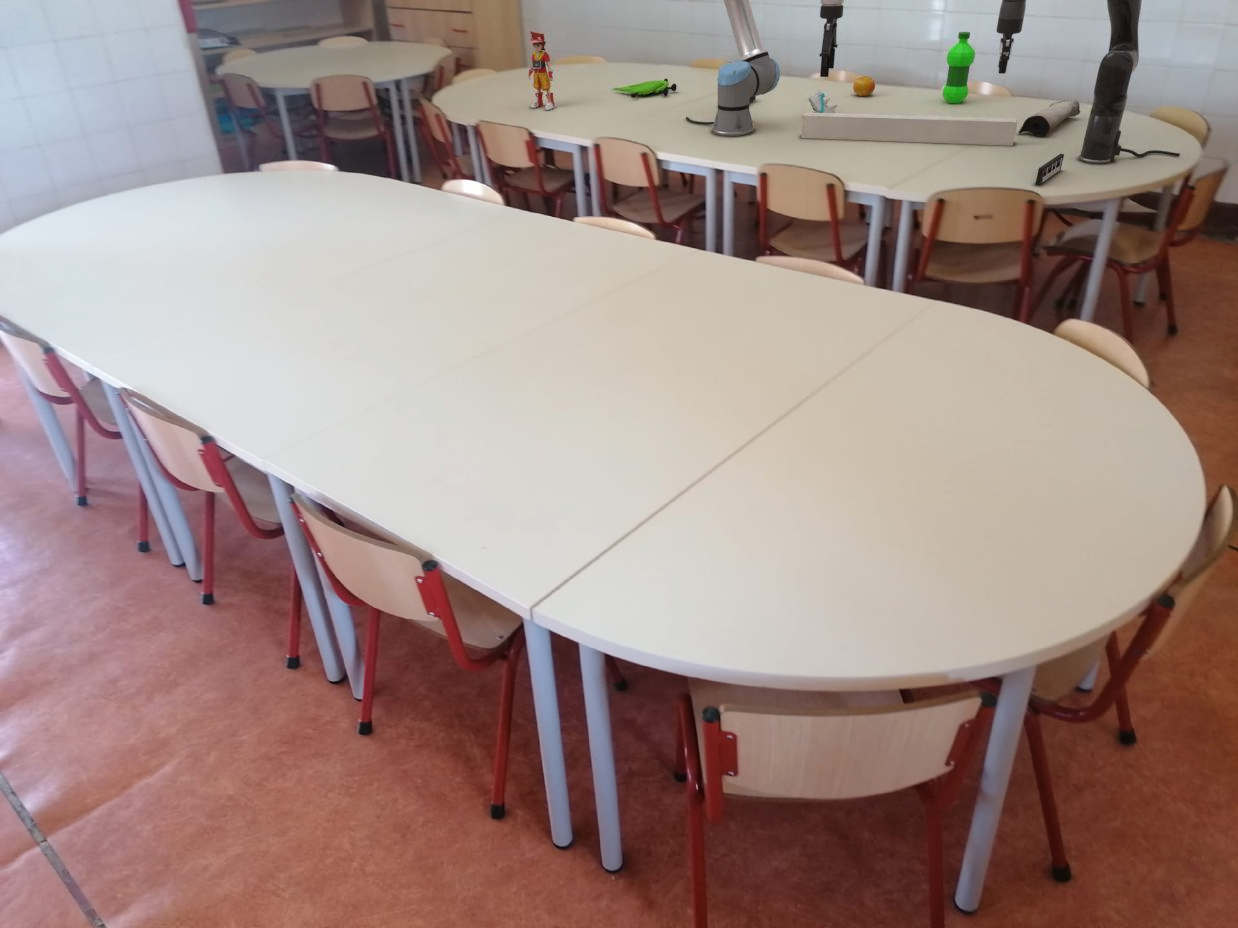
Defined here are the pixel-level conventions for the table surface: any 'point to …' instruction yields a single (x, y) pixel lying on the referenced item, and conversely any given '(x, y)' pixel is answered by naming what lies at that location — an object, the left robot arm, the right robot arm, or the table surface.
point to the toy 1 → (541, 71)
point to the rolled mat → (1050, 117)
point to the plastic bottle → (958, 69)
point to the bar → (910, 128)
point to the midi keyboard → (1049, 169)
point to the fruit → (864, 86)
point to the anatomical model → (821, 103)
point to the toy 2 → (648, 88)
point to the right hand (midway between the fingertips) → (1001, 70)
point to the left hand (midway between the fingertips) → (827, 72)
